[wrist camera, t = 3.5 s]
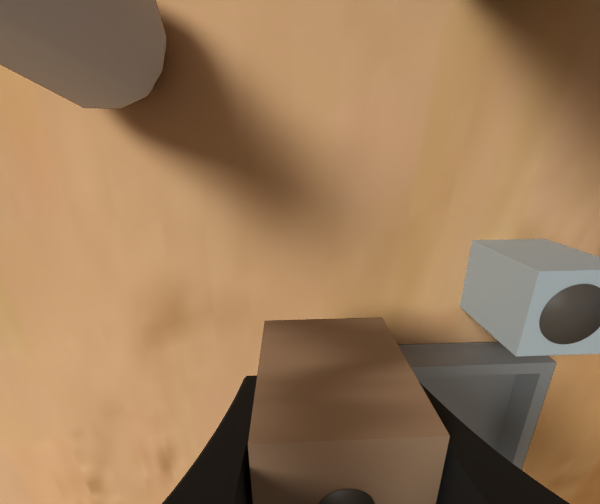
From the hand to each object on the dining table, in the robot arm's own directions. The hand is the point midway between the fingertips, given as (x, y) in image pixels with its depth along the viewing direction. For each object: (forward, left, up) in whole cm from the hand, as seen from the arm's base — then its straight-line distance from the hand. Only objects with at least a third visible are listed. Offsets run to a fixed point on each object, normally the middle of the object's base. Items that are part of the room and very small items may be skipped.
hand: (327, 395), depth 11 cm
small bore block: (0, 0, -2) cm, 2 cm away
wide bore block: (-12, -1, -8) cm, 15 cm away
